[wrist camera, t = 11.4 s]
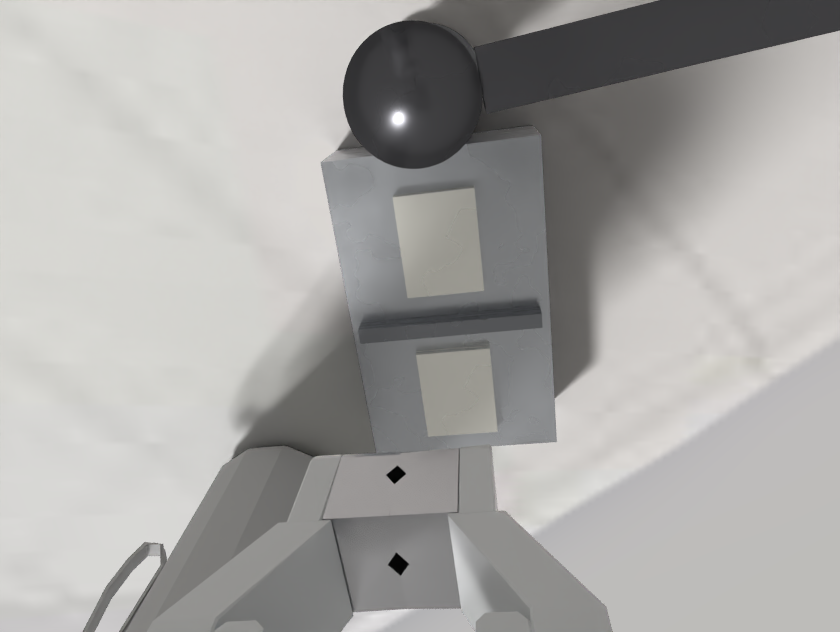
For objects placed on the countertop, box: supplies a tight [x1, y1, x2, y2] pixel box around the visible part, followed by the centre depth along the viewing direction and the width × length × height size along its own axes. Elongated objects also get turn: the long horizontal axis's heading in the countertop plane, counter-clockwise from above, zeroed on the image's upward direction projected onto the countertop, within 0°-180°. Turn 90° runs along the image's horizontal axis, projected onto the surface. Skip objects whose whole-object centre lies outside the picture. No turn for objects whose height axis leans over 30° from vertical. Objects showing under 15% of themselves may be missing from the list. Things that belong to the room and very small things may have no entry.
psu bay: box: [321, 125, 557, 453], centre depth 25 cm, size 13×8×4 cm, turn 8°
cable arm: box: [343, 0, 840, 169], centre depth 17 cm, size 19×4×4 cm, turn 103°
